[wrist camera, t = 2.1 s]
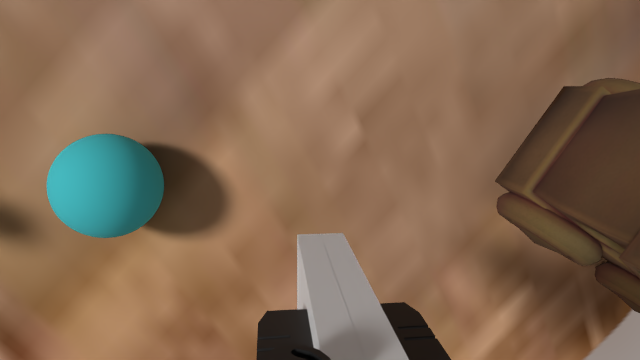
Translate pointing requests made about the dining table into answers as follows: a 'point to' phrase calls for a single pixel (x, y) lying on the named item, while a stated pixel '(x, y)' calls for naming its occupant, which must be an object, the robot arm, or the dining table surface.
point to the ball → (105, 185)
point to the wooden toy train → (583, 182)
